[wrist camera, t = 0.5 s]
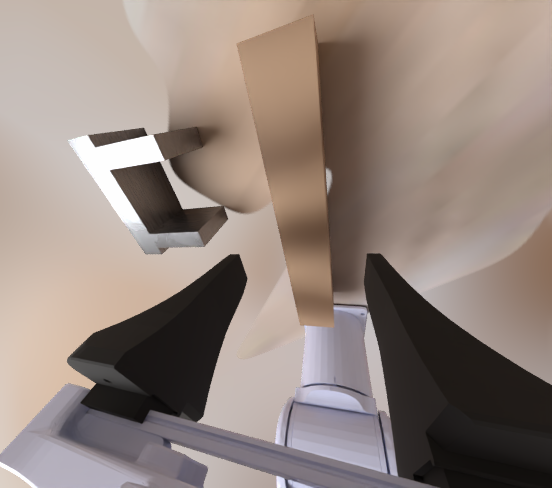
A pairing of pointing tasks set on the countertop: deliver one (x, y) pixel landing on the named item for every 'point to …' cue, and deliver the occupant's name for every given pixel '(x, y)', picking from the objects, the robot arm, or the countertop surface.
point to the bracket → (148, 186)
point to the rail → (294, 157)
